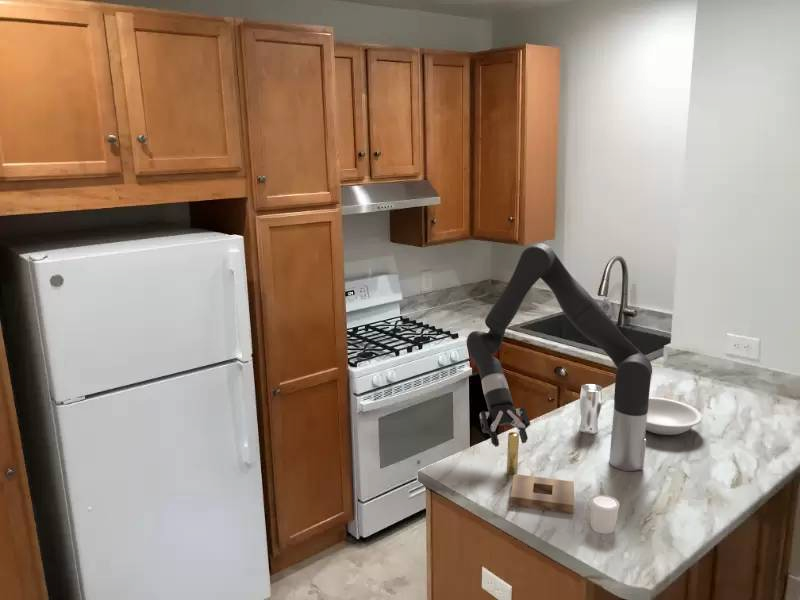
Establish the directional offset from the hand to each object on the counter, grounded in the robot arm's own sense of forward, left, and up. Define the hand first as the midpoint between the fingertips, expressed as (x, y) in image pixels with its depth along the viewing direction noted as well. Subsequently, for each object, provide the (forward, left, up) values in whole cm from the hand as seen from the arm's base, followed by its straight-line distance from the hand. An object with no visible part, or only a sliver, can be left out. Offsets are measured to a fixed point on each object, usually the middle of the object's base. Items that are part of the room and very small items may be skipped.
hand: (511, 444), depth 181 cm
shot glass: (-25, +22, -9) cm, 34 cm away
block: (-10, +12, -8) cm, 18 cm away
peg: (-1, +1, -8) cm, 8 cm away
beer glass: (-23, -34, -9) cm, 42 cm away
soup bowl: (-46, -41, -9) cm, 62 cm away
